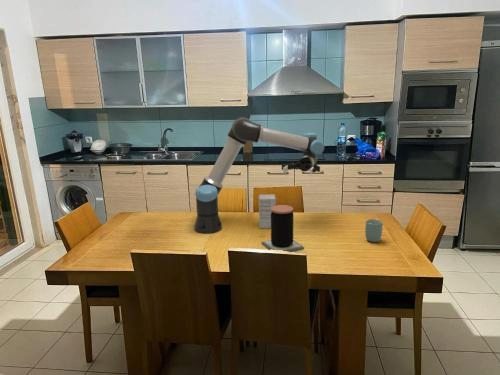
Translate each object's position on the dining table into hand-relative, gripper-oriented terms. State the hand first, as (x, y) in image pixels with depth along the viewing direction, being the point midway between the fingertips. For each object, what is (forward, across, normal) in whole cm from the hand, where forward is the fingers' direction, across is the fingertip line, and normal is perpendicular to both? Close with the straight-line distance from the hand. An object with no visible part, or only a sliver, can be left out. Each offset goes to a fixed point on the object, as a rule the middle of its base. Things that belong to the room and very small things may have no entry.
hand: (297, 171), depth 185 cm
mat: (+18, +3, -34) cm, 38 cm away
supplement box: (-8, +18, -34) cm, 39 cm away
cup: (-2, -38, -34) cm, 51 cm away
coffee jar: (+18, +3, -32) cm, 37 cm away
